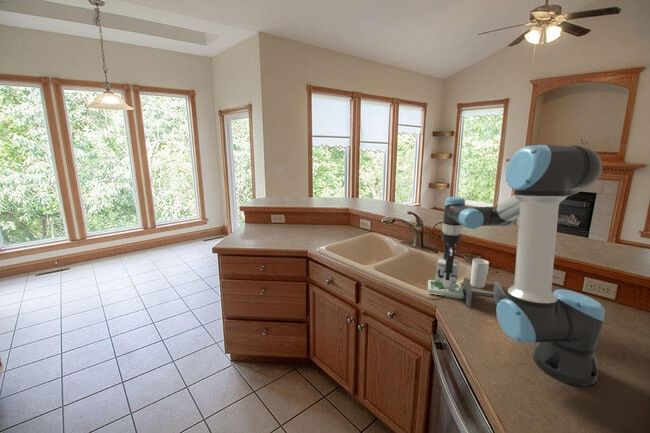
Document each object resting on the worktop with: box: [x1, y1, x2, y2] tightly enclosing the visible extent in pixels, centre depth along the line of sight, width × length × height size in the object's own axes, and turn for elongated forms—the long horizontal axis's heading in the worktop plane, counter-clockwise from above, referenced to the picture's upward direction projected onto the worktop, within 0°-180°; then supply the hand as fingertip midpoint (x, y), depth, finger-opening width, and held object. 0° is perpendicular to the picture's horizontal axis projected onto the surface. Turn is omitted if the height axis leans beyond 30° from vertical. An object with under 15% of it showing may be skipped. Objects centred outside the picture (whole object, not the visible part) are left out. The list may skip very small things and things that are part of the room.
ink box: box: [434, 258, 460, 291], centre depth 134 cm, size 9×5×12 cm, turn 63°
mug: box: [469, 258, 490, 289], centre depth 142 cm, size 10×7×12 cm, turn 119°
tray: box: [427, 279, 464, 300], centre depth 136 cm, size 10×14×2 cm
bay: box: [462, 276, 507, 308], centre depth 127 cm, size 14×13×7 cm
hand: (445, 282), depth 135 cm, fingers closed on ink box, 6 cm apart
